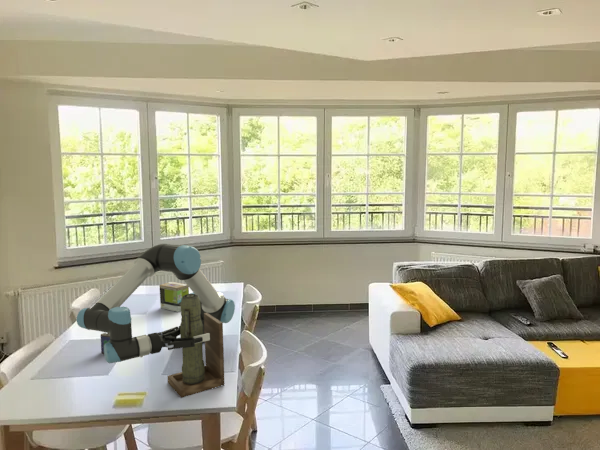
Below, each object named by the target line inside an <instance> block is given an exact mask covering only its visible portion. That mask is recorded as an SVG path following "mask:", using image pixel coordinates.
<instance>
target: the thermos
mask: <svg viewBox="0 0 600 450" xmlns="http://www.w3.org/2000/svg"><path fill="white" fill-rule="evenodd" d="M200 314H201V306H200V300H199V297H198V295H196V294H190V293H189V294H186V295H184V296H183V297H182V300H181V311H180V317H181V319H180V320H181V321H180V324H179V326H180V335H179V336H180V337H179V338H193V336H198V335H202V334H203V324H202V321H201V317H200ZM181 350H182V365H181V372H182V376H183V382H184V383H186V384H197V383H200V382H202V381H203V380H204V379H205V377H204V373H205V366H206V364H205V361H204V354H203V353H204V351H203V343H202V342H200V343H196V344H195V346H194V347H187V348H181Z"/></svg>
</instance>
